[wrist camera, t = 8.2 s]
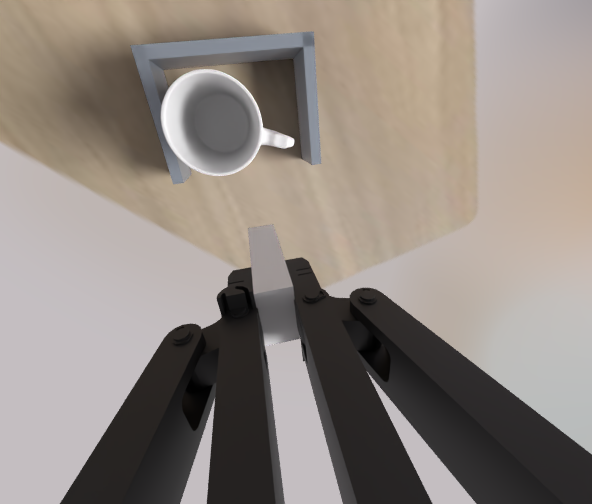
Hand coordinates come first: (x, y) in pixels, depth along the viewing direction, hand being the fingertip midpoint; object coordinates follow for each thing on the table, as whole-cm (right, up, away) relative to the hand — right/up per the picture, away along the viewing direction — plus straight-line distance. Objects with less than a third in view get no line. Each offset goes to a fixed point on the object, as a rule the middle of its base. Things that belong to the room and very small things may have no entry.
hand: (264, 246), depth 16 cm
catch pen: (-4, +15, +13) cm, 20 cm away
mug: (-5, +13, +14) cm, 20 cm away
